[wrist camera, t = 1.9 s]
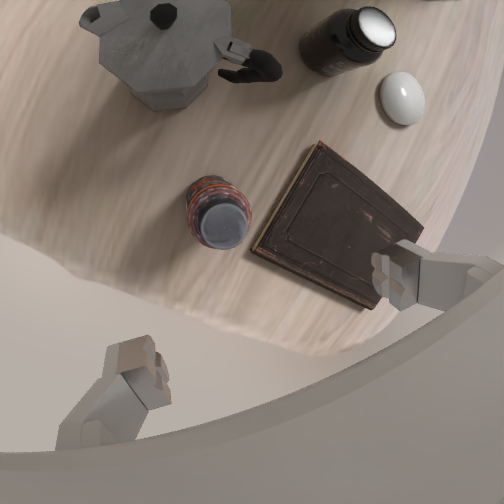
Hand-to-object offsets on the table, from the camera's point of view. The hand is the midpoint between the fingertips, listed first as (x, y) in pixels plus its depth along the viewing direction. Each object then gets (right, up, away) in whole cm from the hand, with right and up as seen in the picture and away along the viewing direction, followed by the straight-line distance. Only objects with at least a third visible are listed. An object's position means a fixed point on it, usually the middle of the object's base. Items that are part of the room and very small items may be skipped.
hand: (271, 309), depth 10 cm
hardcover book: (+12, +4, +32) cm, 34 cm away
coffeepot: (-9, +21, +19) cm, 30 cm away
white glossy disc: (+21, +24, +25) cm, 41 cm away
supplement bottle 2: (+8, +27, +21) cm, 35 cm away
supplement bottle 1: (-5, +8, +25) cm, 27 cm away
